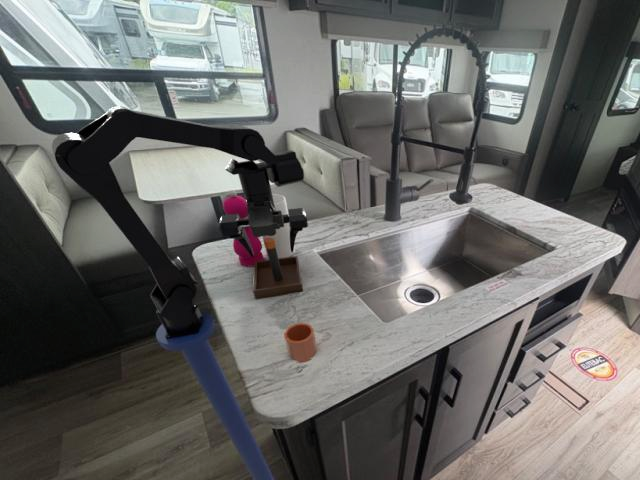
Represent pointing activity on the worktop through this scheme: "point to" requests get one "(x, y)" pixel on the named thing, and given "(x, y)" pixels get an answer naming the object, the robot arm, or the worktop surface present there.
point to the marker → (273, 258)
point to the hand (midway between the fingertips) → (272, 253)
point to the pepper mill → (240, 207)
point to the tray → (270, 287)
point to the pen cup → (301, 342)
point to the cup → (281, 230)
